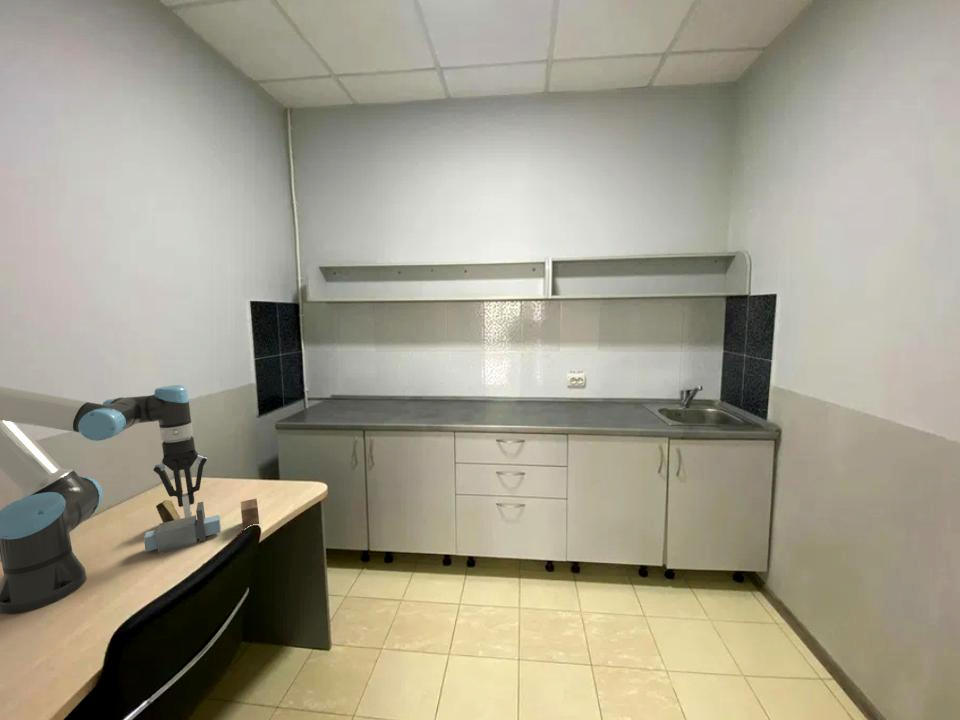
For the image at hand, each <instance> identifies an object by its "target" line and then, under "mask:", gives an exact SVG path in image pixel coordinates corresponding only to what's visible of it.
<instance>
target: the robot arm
mask: <svg viewBox="0 0 960 720" xmlns="http://www.w3.org/2000/svg"><path fill="white" fill-rule="evenodd" d="M151 422H152V423H154V422H158V423H159V424H158V426H159V431H160V440H161V441H162V442H161V447H162V453H163V457H162V460H161V462H160V463H159V464H155V466H154V468H153V472H154V473H156V474H157V475H158V476H159V478H160V480H161V483H162V484H163V486H164V488H165V490H166V492H167V493H166V494H167V495H168V496H169V498H170V497H175V498H176V499H177V504H178V507H179V508H182V507H183V515H184V518H187V517H191V516H192V505H194V504H195V502H196V501H195V494H194V493H195V492H198V491H200V489H201V484H202V483H201V482H202V476H203V471H204V466H205V464H206V463H207V460H208V457H207V456H205V455H204V456H202V455H199V453H198V452H197V451H196V446H195V438H194V437H193V435H194V432H193V431H194V430H193V422H192V418H191V408H190V399H189V395H188V390H187V387H186V386H184V385H180V384H178V385H177V384H176V385H166V386H161V387H157V388H155V389H154V393H153V394H151V395H142V396H140V395H139V396H130V397H118V398H112V399H107V400H106V399H105V401H103V403H102V404H101V403H96V402H89V401H84V400H79V399H74V398H68V397H63V396H62V397H61V396H56V395H51V394H45V393H39V392H34V391H30V390H23V389H19V388H18V389H17V388H13V387H12V388H11V387H5V386H1V385H0V471H1V472H2V473H3V474H4V475H5V476H6V477H7V478H8V479H9V480H10V481H11V482H12V483H13V484H14V485H15V486H16V487H17V488H18V489H19V490H20V491H21V494H20V497H19V500H15V501H12V502H11V503H9V504H7V505H6V506H3V507H2V508H1V509H0V562H1V566H2V571H3V577H2V580H1V584H0V613H2V614H5V613H7V615H10V614H11V615H12V614H20V613H25V612H29V611H33V610H36V609H39V608H42V607H45V606H47V605H50V604H52V603H55V602H57V601H60V600H61V599H63V598H65V597H67V596H69V595H70V594H72V593H74V592H75V591H76V590H78V589H79V588H81V587H82V585H84V583H85V582H86V580H87V573H86V568H85V566H83V564H82V562H81V561H80V560H79V559H78V557H77V556H76V555H75V553H74V552H73V547H72V541H71V532H72V531H74V530H75V529H76V528H77V527H78V526H79V525H81V524H82V523H83V522H85V521H86V520H87V519H89V518H90V517H92V515H93V514H94V513H95V512H96V510H97V509H98V508H99V507H100V505H101V504H102V501H103V496H104V493H103V492H104V490H103V488H102V486H101V485H100V483H99V482H98V481H97V480H96V479H94V478H91V477H87V476H82V475H81V476H80V475H78V473H77V472H76V471H75V470H74V469H71V468H70V469H69V468H62V467H61V466H60V465H59V464H58V463H57V462H56V461H55V460H54V459H53V458H52V457H51V456H50V455H49V453H48V452H47V451H46V450H45V449H44V448H43V447H42V446H40V444H39V443H38V442H37V441H36V439H34V438H33V437H32V436H31V434H29V432H27V430H26V429H24V428H23V426H22V425H29V426H34V427H35V426H36V427H42V428H46V429H47V428H48V429H53V430H61V431H68V432H74V433H80V434H81V435H82V436H83V437H84V438H86V439H87V440H91V441H97V442H98V441H99V442H100V441H104V440H107V439H111V438H113V437H115V436H118V435H119V434H121V432H124V431H125V430H126V429H129V428H130V427H133V426H134V425H136V424H142V423H151ZM21 424H22V425H21ZM196 460H197V461H196ZM195 462H196V463H197V464H198V466H197V473H196V479H195V485H194V486H193V479H192V470H191V468H192V466H193V465H194V463H195ZM166 467H167V468H168V469H169V470H171V471H172V473H173V478H174V484H175V487H174V485H173V483H172V481H171V480H170V478H169V476H168V474H167V471H166V470H165V469H166ZM181 471H183V473H184V477H185V484H186V491H187V492H186V493H185V492H184V491H183V483H182V476H181ZM183 492H184V493H183Z"/></svg>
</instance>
